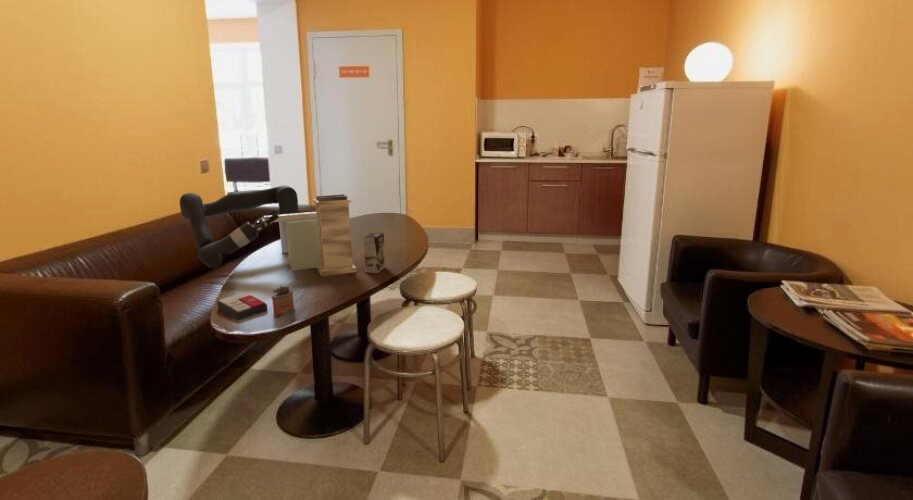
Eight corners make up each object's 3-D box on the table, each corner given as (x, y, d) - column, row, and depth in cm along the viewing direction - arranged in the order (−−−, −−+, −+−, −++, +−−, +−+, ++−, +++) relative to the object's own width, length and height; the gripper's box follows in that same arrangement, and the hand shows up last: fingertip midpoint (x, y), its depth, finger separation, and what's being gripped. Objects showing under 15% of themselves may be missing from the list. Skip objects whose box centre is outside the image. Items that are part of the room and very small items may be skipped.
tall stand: (317, 269, 224) (311, 195, 215) (350, 265, 230) (346, 193, 221) (322, 276, 214) (315, 199, 206) (356, 272, 221) (351, 196, 212)
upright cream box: (289, 264, 232) (284, 218, 226) (324, 260, 238) (320, 215, 232) (292, 270, 223) (287, 222, 217) (328, 266, 229) (324, 219, 224)
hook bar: (264, 221, 219) (262, 207, 218) (319, 216, 229) (318, 202, 227) (264, 222, 217) (263, 208, 215) (321, 217, 226) (319, 203, 225)
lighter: (290, 309, 179) (288, 282, 176) (297, 311, 177) (294, 284, 174) (271, 316, 172) (268, 289, 170) (277, 318, 170) (274, 290, 168)
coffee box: (378, 273, 219) (377, 237, 214) (365, 272, 220) (363, 236, 216) (385, 267, 227) (384, 232, 223) (372, 266, 228) (370, 232, 224)
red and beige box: (237, 311, 168) (216, 298, 178) (238, 322, 170) (217, 309, 179) (267, 302, 176) (246, 290, 186) (268, 313, 178) (247, 301, 187)
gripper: (248, 238, 223) (280, 217, 227) (250, 245, 211) (283, 223, 214) (238, 224, 220) (269, 204, 224) (239, 231, 208) (272, 209, 211)
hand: (276, 213), depth 219 cm, fingers open, 8 cm apart
